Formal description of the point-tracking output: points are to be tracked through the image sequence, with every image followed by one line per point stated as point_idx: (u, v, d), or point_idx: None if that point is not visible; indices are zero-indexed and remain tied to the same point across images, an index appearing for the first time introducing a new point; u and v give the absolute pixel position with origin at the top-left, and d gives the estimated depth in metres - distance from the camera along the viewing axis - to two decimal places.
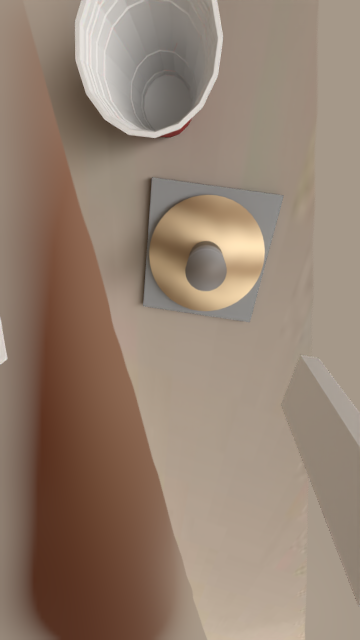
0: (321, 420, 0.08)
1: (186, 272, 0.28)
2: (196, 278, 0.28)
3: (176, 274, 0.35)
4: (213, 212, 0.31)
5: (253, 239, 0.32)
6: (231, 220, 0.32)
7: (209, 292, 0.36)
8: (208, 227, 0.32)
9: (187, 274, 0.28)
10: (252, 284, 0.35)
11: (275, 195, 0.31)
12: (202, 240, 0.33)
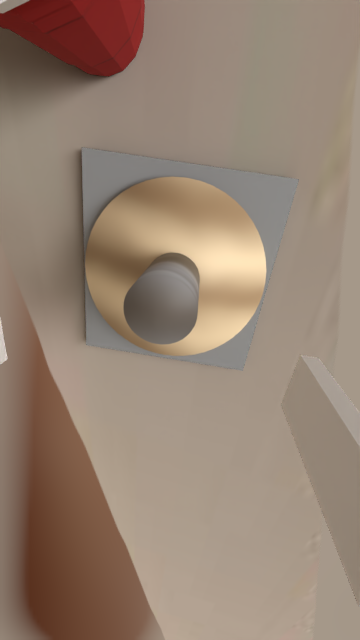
0: (321, 420, 0.08)
1: (125, 312, 0.15)
2: (144, 322, 0.16)
3: None
4: (182, 206, 0.19)
5: (248, 251, 0.20)
6: (212, 220, 0.19)
7: None
8: (176, 230, 0.20)
9: (128, 316, 0.15)
10: (246, 319, 0.22)
11: (285, 179, 0.19)
12: (167, 251, 0.21)
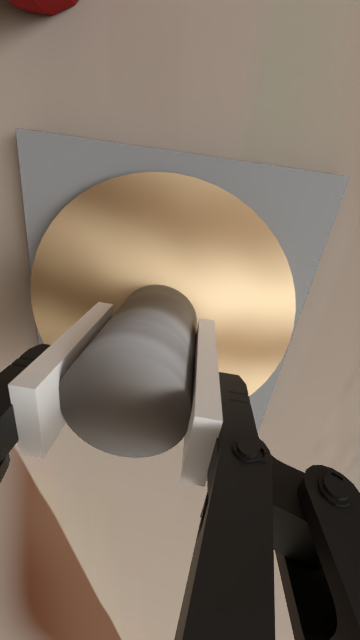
0: (194, 363, 0.11)
1: (62, 408, 0.09)
2: (97, 425, 0.09)
3: None
4: (169, 217, 0.12)
5: (270, 284, 0.13)
6: (216, 238, 0.13)
7: None
8: (161, 253, 0.13)
9: (68, 414, 0.09)
10: (264, 377, 0.16)
11: (328, 176, 0.12)
12: (148, 283, 0.14)
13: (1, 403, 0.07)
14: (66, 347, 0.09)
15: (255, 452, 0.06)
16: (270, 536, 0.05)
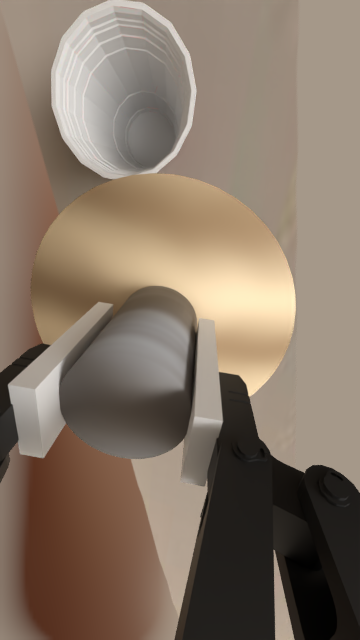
0: (194, 363, 0.10)
1: (63, 409, 0.09)
2: (97, 426, 0.09)
3: None
4: (169, 218, 0.12)
5: (270, 285, 0.13)
6: (216, 239, 0.13)
7: None
8: (161, 254, 0.13)
9: (68, 415, 0.09)
10: (264, 378, 0.16)
11: None
12: (148, 284, 0.14)
13: (1, 403, 0.07)
14: (66, 347, 0.09)
15: (255, 452, 0.06)
16: (270, 536, 0.05)
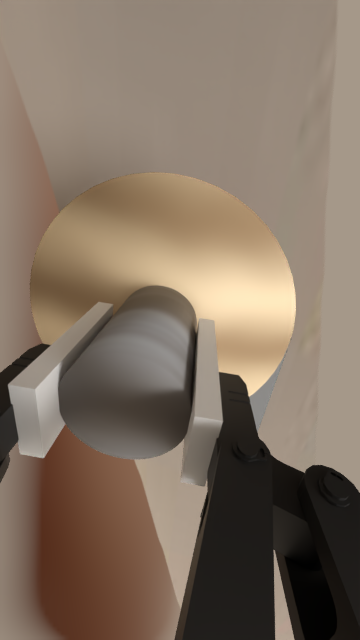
0: (194, 363, 0.10)
1: (62, 410, 0.09)
2: (96, 427, 0.09)
3: None
4: (169, 218, 0.12)
5: (270, 284, 0.13)
6: (215, 238, 0.13)
7: None
8: (161, 254, 0.13)
9: (67, 416, 0.09)
10: (264, 378, 0.16)
11: None
12: (148, 284, 0.14)
13: (1, 403, 0.07)
14: (66, 347, 0.09)
15: (255, 452, 0.06)
16: (270, 536, 0.05)
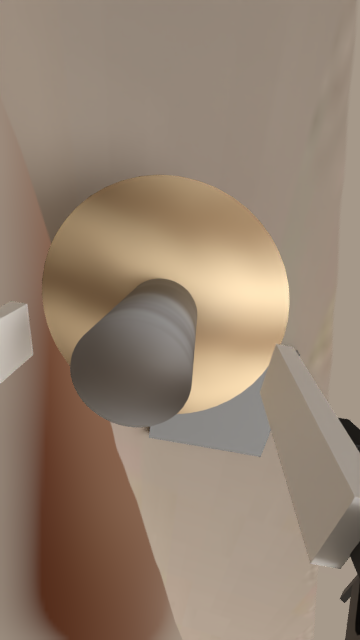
0: (289, 402, 0.09)
1: (74, 377, 0.09)
2: (104, 394, 0.10)
3: None
4: (173, 215, 0.14)
5: (265, 277, 0.14)
6: (215, 234, 0.14)
7: None
8: (165, 249, 0.14)
9: (78, 383, 0.09)
10: (261, 369, 0.16)
11: None
12: (152, 277, 0.15)
13: None
14: None
15: None
16: None
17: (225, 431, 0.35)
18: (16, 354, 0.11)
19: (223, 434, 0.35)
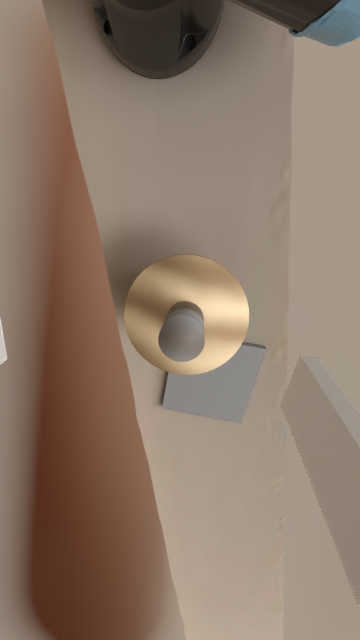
0: (320, 420, 0.08)
1: (159, 340, 0.24)
2: (170, 347, 0.25)
3: (153, 334, 0.32)
4: (194, 272, 0.29)
5: (237, 302, 0.30)
6: (213, 282, 0.29)
7: None
8: (189, 287, 0.30)
9: (160, 342, 0.25)
10: (235, 349, 0.32)
11: (260, 348, 0.45)
12: (182, 300, 0.30)
13: None
14: None
15: None
16: None
17: (216, 403, 0.50)
18: None
19: (214, 405, 0.50)
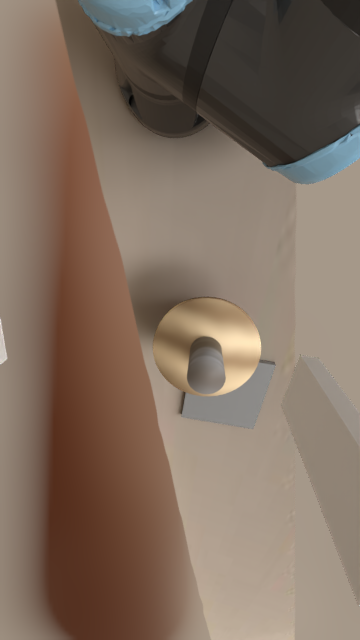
0: (321, 420, 0.08)
1: (187, 377, 0.30)
2: (197, 383, 0.30)
3: (178, 363, 0.37)
4: (213, 313, 0.34)
5: (250, 337, 0.35)
6: (230, 320, 0.34)
7: None
8: (209, 325, 0.35)
9: (188, 379, 0.30)
10: (249, 375, 0.37)
11: (270, 364, 0.50)
12: (203, 335, 0.35)
13: None
14: None
15: None
16: None
17: (230, 412, 0.55)
18: None
19: (229, 414, 0.56)
